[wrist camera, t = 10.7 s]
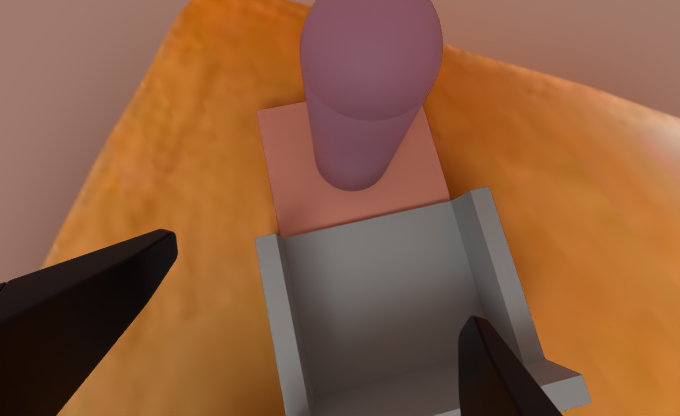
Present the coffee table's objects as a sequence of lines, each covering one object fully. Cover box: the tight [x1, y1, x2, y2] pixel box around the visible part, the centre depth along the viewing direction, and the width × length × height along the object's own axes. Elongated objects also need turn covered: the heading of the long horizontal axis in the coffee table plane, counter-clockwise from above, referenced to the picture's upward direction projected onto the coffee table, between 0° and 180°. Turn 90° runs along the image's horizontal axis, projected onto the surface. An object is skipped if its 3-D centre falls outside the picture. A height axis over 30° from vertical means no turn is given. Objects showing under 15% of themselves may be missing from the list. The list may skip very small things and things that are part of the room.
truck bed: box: [254, 101, 592, 416], centre depth 19 cm, size 14×20×7 cm
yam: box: [300, 0, 443, 191], centre depth 15 cm, size 5×5×13 cm
